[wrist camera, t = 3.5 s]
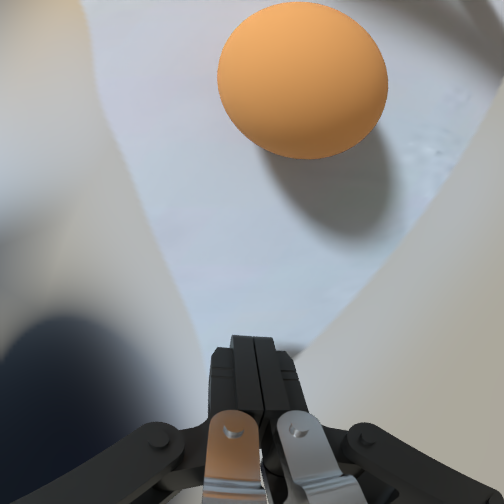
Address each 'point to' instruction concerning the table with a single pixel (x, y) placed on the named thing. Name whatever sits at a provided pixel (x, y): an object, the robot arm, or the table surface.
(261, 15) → the ball
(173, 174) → the table surface
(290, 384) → the robot arm
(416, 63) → the table surface
